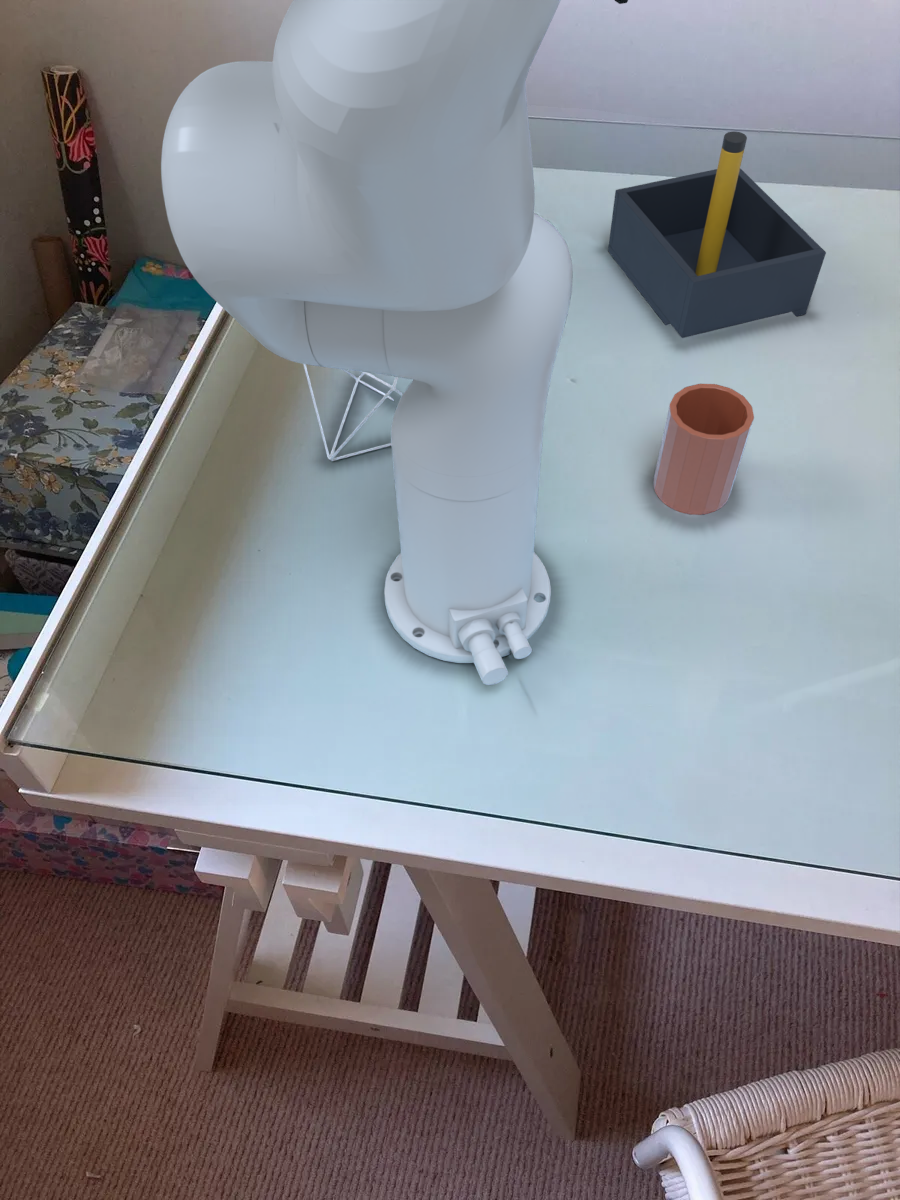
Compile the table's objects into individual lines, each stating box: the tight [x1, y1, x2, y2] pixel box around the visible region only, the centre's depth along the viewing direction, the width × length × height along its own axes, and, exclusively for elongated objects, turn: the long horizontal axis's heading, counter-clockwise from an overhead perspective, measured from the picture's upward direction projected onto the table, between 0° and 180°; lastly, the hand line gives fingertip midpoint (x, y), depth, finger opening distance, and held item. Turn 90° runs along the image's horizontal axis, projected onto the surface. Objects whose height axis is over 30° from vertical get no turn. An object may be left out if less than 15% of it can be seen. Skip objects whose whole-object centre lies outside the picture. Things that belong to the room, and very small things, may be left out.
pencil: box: [695, 131, 748, 276], centre depth 91 cm, size 2×2×14 cm
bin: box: [607, 168, 827, 339], centre depth 95 cm, size 17×14×7 cm
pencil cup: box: [653, 383, 755, 516], centre depth 76 cm, size 6×6×9 cm
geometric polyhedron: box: [302, 364, 404, 462], centre depth 82 cm, size 12×11×9 cm
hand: (551, 6), depth 68 cm, fingers open, 9 cm apart
